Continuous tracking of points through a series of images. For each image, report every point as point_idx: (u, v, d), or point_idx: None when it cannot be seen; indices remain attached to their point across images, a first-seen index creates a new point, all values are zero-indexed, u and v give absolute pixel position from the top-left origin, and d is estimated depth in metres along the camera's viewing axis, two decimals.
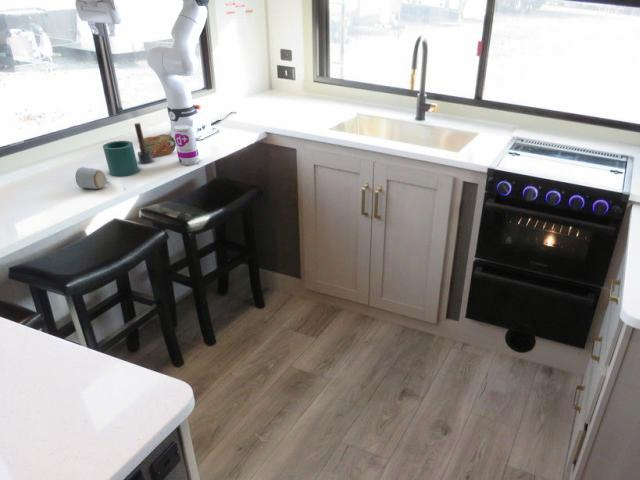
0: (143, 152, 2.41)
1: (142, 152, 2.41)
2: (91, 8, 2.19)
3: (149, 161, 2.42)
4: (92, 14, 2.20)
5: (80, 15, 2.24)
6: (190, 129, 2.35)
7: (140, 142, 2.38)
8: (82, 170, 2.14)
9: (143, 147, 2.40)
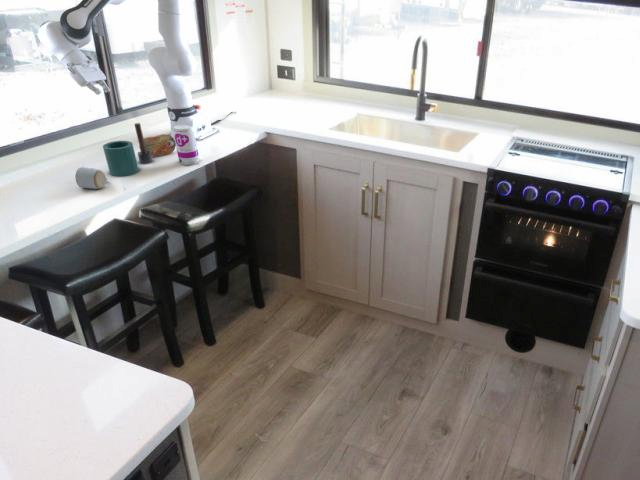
0: (143, 152, 2.41)
1: (142, 152, 2.41)
2: None
3: (149, 161, 2.42)
4: None
5: None
6: (190, 129, 2.35)
7: (140, 142, 2.38)
8: (82, 170, 2.14)
9: (143, 147, 2.40)
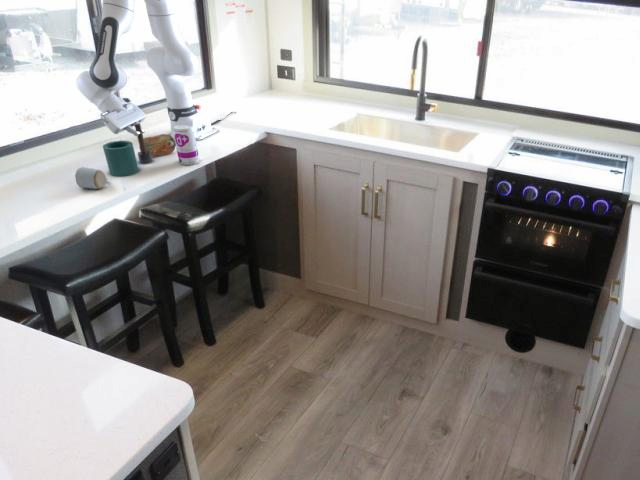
0: (143, 152, 2.41)
1: (142, 152, 2.41)
2: None
3: (149, 161, 2.42)
4: None
5: None
6: (190, 129, 2.35)
7: (140, 142, 2.38)
8: (82, 170, 2.14)
9: (143, 147, 2.40)
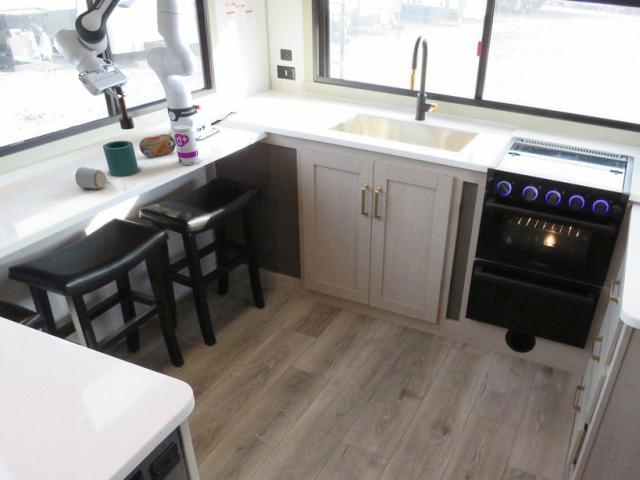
0: (124, 117, 2.28)
1: (123, 117, 2.28)
2: None
3: (131, 127, 2.30)
4: None
5: None
6: (190, 129, 2.35)
7: (121, 106, 2.26)
8: (82, 170, 2.14)
9: (124, 112, 2.27)
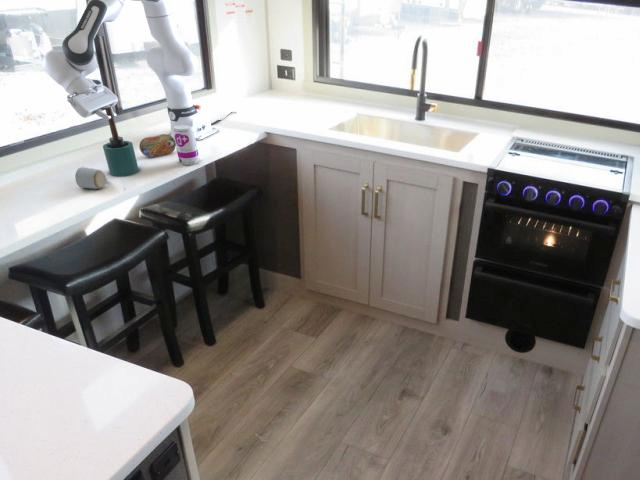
0: (115, 138, 2.25)
1: (114, 138, 2.25)
2: None
3: None
4: None
5: None
6: (190, 129, 2.35)
7: (111, 127, 2.23)
8: (82, 170, 2.14)
9: (115, 132, 2.24)
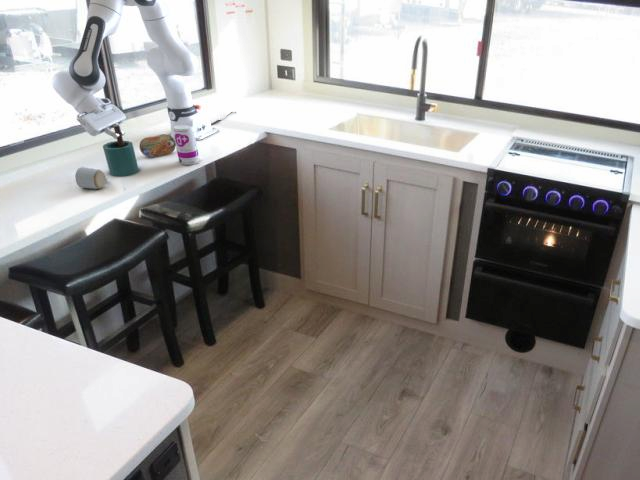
0: None
1: None
2: None
3: None
4: None
5: None
6: (190, 129, 2.35)
7: (120, 144, 2.28)
8: (82, 170, 2.14)
9: None
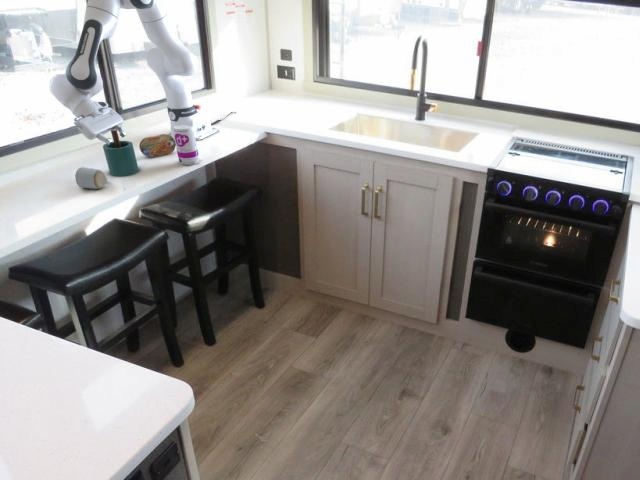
0: None
1: None
2: None
3: None
4: None
5: None
6: (190, 129, 2.35)
7: None
8: (82, 170, 2.14)
9: None
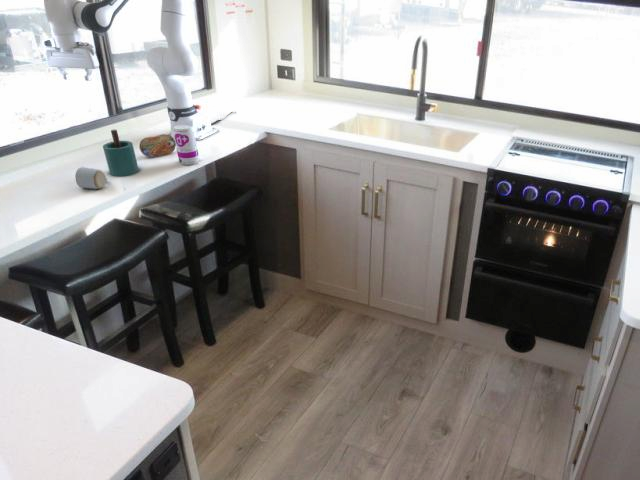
0: None
1: None
2: (64, 54, 2.19)
3: None
4: (65, 60, 2.20)
5: (49, 61, 2.21)
6: (190, 129, 2.35)
7: None
8: (82, 170, 2.14)
9: None
